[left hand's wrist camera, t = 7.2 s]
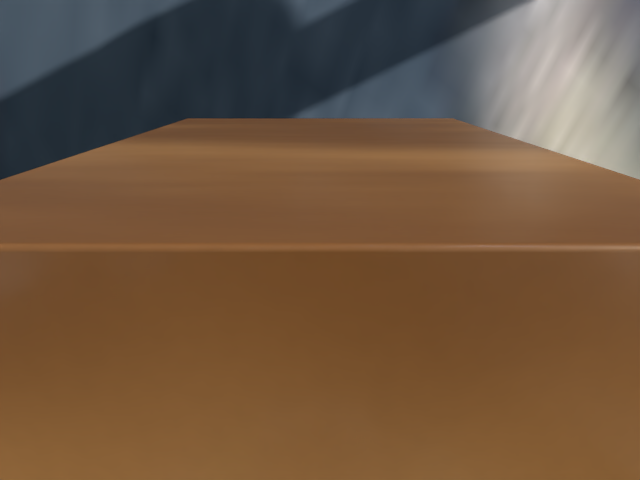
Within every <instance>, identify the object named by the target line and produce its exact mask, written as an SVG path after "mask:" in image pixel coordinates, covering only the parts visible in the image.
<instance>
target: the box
mask: <svg viewBox="0 0 640 480" xmlns="http://www.w3.org/2000/svg"><path fill="white" fill-rule="evenodd" d="M0 480H640V180H639V179H636V178H633V177H629V176H626V175H623V174H620V173H617V172H614V171H611V170H608V169H605V168H602V167H599V166H596V165H593V164H590V163H587V162H584V161H581V160H578V159H575V158H572V157H568V156H565V155H562V154H559V153H556V152H553V151H550V150H547V149H544V148H541V147H538V146H535V145H532V144H529V143H526V142H523V141H520V140H517V139H514V138H511V137H507V136H504V135H501V134H498V133H495V132H492V131H489V130H486V129H483V128H480V127H477V126H474V125H471V124H468V123H465V122H462V121H459V120H456V119H252V118H188V119H185V120H181V121H178V122H175V123H172V124H169V125H166V126H163V127H160V128H157V129H154V130H151V131H148V132H145V133H142V134H139V135H136V136H133V137H130V138H127V139H124V140H121V141H117V142H114V143H111V144H108V145H105V146H102V147H99V148H96V149H93V150H90V151H87V152H84V153H81V154H78V155H75V156H72V157H69V158H66V159H63V160H60V161H57V162H54V163H50V164H47V165H44V166H41V167H38V168H35V169H32V170H29V171H26V172H23V173H20V174H17V175H14V176H11V177H8V178H5V179H2V180H0Z"/></svg>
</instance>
